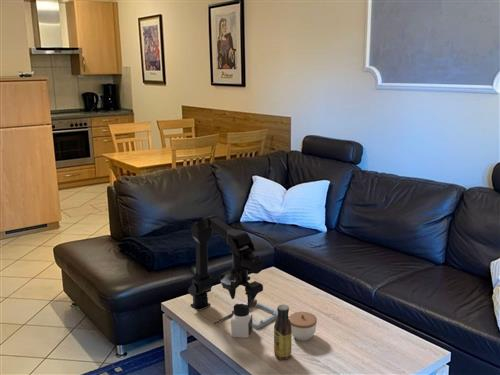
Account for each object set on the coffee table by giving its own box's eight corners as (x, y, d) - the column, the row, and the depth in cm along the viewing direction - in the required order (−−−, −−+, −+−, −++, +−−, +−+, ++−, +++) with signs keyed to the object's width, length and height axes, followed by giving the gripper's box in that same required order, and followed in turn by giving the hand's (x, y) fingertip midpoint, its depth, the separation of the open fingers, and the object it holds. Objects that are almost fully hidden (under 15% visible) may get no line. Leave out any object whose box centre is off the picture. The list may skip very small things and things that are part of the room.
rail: (214, 323, 199) (214, 322, 199) (253, 303, 215) (253, 302, 214) (215, 324, 199) (215, 322, 198) (254, 304, 214) (254, 302, 214)
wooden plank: (232, 315, 204) (231, 310, 204) (255, 303, 214) (255, 299, 213) (233, 316, 204) (233, 311, 203) (256, 304, 213) (256, 299, 213)
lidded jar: (319, 331, 192) (319, 309, 189) (313, 346, 182) (313, 323, 180) (292, 327, 195) (292, 305, 193) (285, 341, 186) (285, 319, 183)
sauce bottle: (273, 351, 179) (272, 302, 174) (289, 350, 180) (289, 301, 175) (275, 362, 173) (275, 311, 168) (292, 361, 173) (293, 310, 168)
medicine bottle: (249, 338, 188) (248, 310, 185) (231, 336, 189) (230, 308, 186) (252, 328, 195) (252, 301, 192) (235, 327, 196) (234, 300, 193)
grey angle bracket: (235, 318, 203) (235, 312, 202) (258, 306, 213) (258, 300, 212) (257, 329, 194) (257, 323, 194) (280, 315, 204) (280, 310, 203)
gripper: (207, 264, 186) (209, 302, 190) (242, 279, 173) (243, 319, 177) (229, 256, 193) (230, 292, 197) (263, 269, 181) (264, 307, 185)
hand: (241, 302), depth 189 cm, fingers open, 9 cm apart
